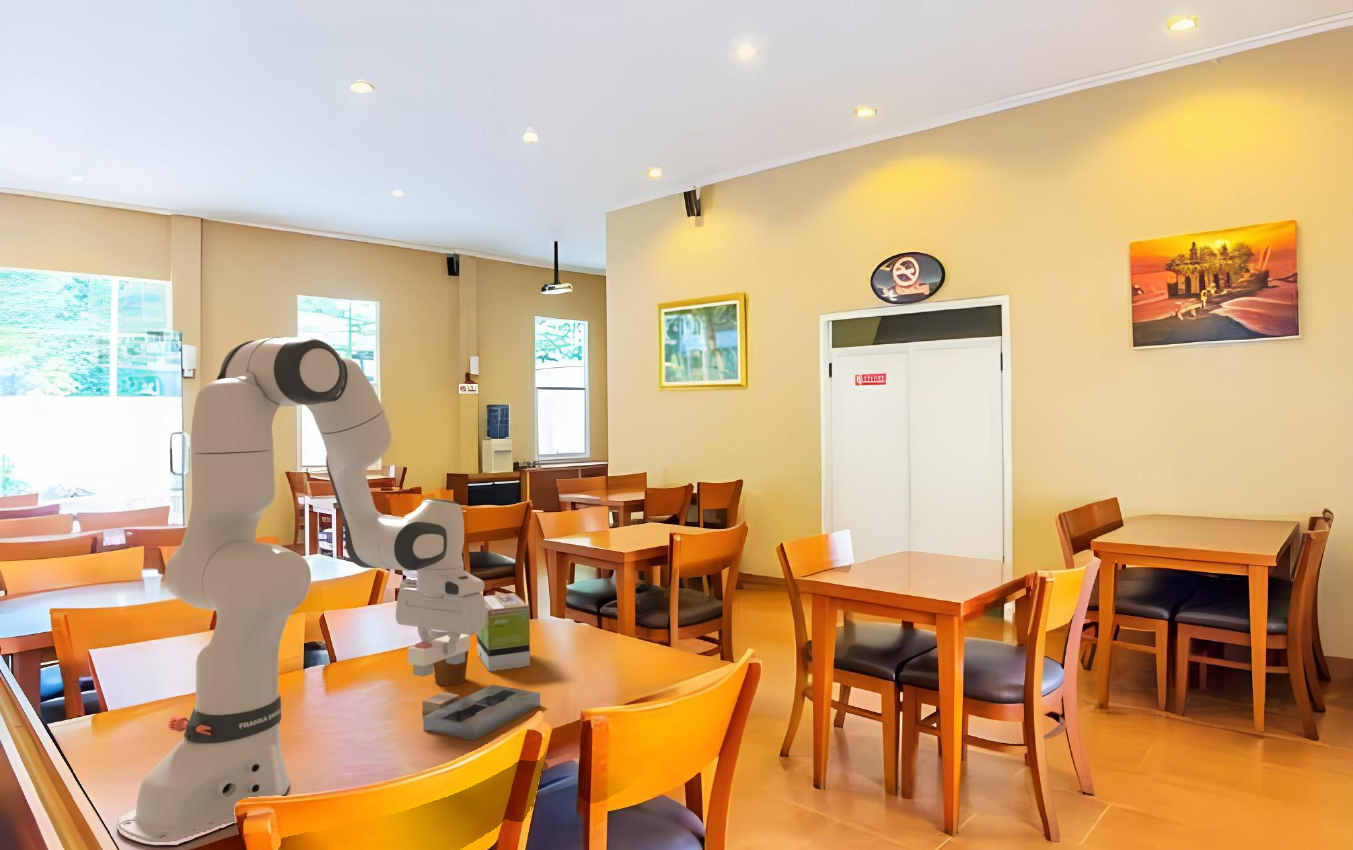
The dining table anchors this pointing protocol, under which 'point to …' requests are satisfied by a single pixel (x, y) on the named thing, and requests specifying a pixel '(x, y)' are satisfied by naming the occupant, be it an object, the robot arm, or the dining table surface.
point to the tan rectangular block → (438, 702)
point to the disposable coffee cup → (448, 665)
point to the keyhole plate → (481, 712)
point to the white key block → (436, 654)
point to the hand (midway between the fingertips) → (438, 651)
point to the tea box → (505, 633)
